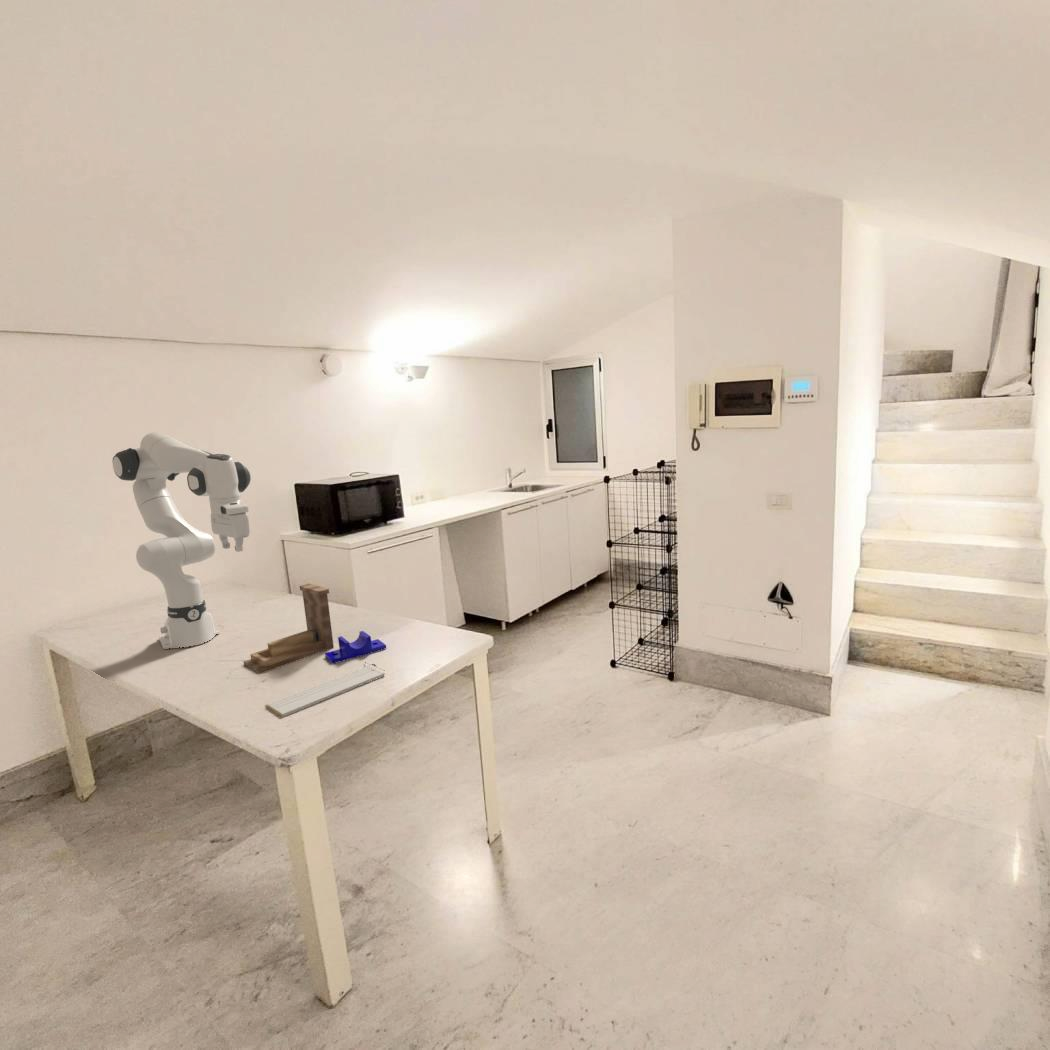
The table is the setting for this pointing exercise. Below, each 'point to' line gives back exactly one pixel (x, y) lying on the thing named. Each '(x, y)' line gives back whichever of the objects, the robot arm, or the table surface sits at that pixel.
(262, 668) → the wooden l-shaped stand
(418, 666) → the table surface
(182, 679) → the table surface
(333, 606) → the table surface
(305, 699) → the baseboard molding
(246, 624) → the table surface
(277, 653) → the oak rail piece
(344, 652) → the mounting bracket
